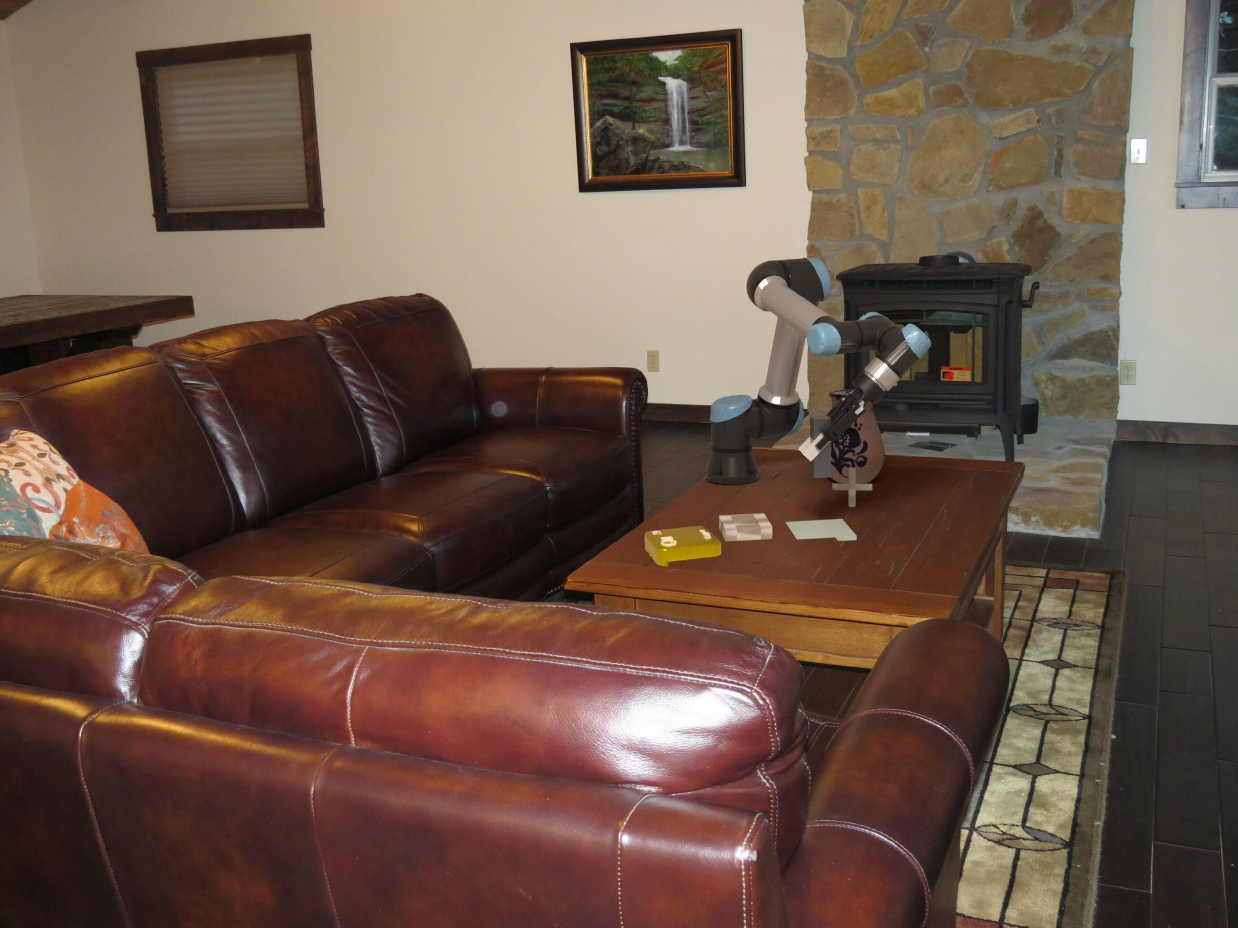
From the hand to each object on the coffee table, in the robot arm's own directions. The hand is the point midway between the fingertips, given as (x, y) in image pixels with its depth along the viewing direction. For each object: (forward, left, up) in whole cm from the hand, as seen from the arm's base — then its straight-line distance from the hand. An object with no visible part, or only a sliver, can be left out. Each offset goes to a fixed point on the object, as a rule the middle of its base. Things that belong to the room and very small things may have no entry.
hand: (804, 455), depth 264 cm
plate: (0, +4, -19) cm, 20 cm away
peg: (0, +4, -5) cm, 6 cm away
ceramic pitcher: (-47, +24, -20) cm, 56 cm away
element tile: (+9, -30, -20) cm, 37 cm away
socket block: (0, -14, -19) cm, 24 cm away
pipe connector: (-21, +17, -20) cm, 33 cm away
